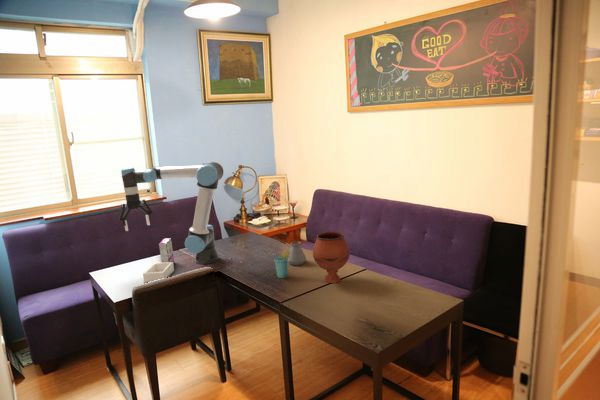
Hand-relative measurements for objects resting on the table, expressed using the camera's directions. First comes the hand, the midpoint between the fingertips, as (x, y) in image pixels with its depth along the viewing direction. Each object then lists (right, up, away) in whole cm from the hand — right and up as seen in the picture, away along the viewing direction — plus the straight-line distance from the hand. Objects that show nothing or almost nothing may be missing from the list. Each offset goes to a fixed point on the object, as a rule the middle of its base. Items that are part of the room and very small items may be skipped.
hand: (137, 227), depth 247 cm
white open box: (+16, -28, -9) cm, 34 cm away
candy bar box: (+16, -25, +8) cm, 30 cm away
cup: (+88, -26, -21) cm, 94 cm away
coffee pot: (+93, -21, +1) cm, 95 cm away
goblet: (+116, -26, -30) cm, 122 cm away
